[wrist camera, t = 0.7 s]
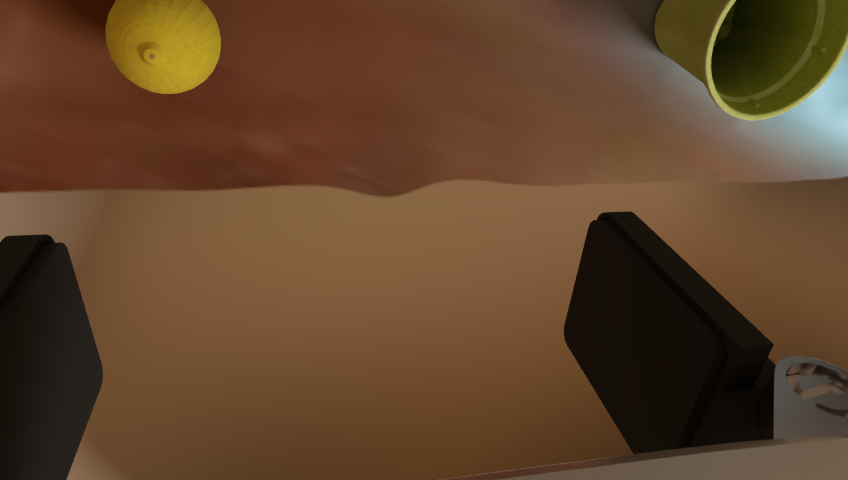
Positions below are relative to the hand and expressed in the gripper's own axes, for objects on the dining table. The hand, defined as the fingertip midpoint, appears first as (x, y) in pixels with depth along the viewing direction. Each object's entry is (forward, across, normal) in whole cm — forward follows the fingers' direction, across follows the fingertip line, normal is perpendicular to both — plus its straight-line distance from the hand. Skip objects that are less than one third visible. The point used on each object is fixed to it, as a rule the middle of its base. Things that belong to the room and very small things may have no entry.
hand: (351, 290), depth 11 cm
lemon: (+29, +8, +1) cm, 30 cm away
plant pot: (+30, -27, 0) cm, 40 cm away
